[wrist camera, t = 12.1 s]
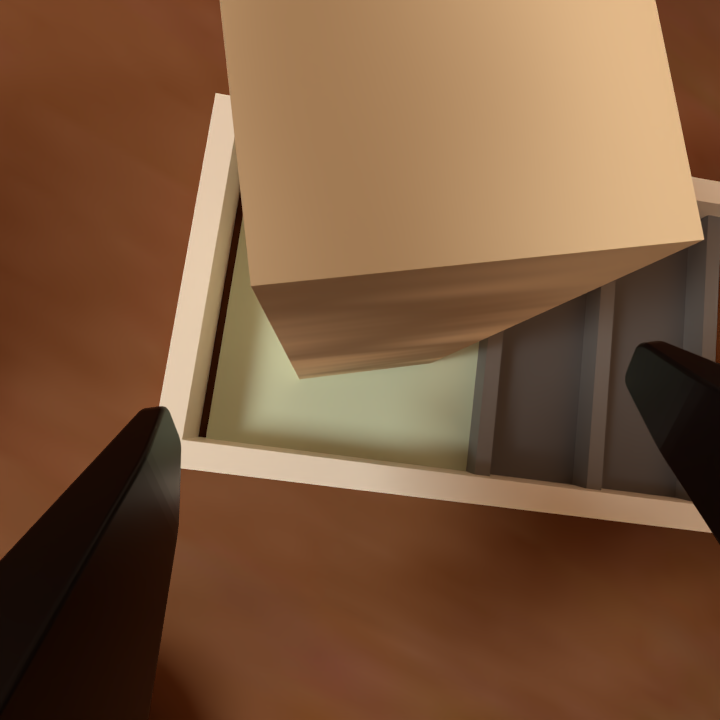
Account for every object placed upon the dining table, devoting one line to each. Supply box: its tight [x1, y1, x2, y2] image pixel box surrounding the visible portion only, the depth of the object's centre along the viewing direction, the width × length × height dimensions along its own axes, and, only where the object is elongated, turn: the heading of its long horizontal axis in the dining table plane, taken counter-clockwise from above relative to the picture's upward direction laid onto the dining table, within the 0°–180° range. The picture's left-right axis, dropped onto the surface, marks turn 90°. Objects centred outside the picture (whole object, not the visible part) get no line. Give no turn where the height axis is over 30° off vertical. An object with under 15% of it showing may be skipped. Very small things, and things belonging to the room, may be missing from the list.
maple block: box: [220, 0, 704, 379], centre depth 11 cm, size 4×4×12 cm
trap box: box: [159, 93, 720, 533], centre depth 17 cm, size 28×12×2 cm, turn 83°
